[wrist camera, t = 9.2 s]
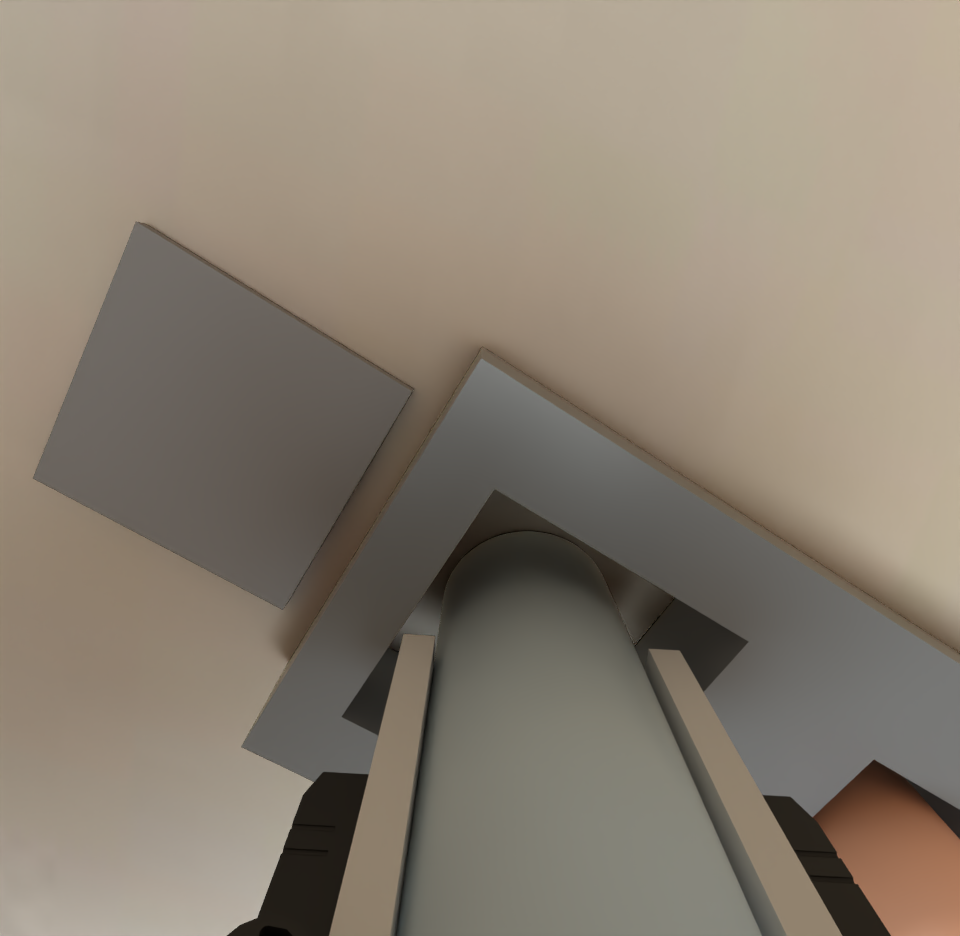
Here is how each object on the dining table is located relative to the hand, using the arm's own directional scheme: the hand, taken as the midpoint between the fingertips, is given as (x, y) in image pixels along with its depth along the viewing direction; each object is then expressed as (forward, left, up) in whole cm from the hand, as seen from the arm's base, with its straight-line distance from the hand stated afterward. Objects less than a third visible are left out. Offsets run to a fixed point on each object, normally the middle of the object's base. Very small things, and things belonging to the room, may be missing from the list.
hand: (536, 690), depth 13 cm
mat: (-10, 0, -4) cm, 11 cm away
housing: (+6, 0, -4) cm, 7 cm away
